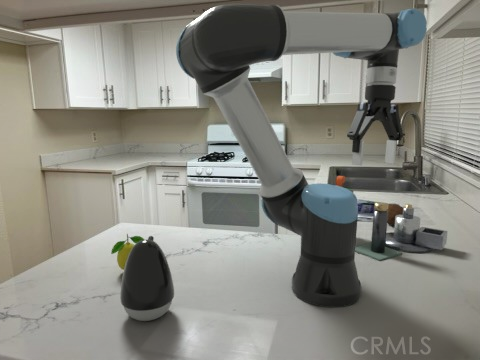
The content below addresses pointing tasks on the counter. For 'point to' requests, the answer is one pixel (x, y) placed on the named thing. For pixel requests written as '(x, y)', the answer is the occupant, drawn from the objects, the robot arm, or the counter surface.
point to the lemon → (124, 250)
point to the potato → (393, 213)
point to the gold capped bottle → (379, 227)
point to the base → (404, 245)
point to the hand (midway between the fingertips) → (373, 164)
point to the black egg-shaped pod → (146, 282)
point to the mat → (378, 256)
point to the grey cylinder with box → (417, 231)
